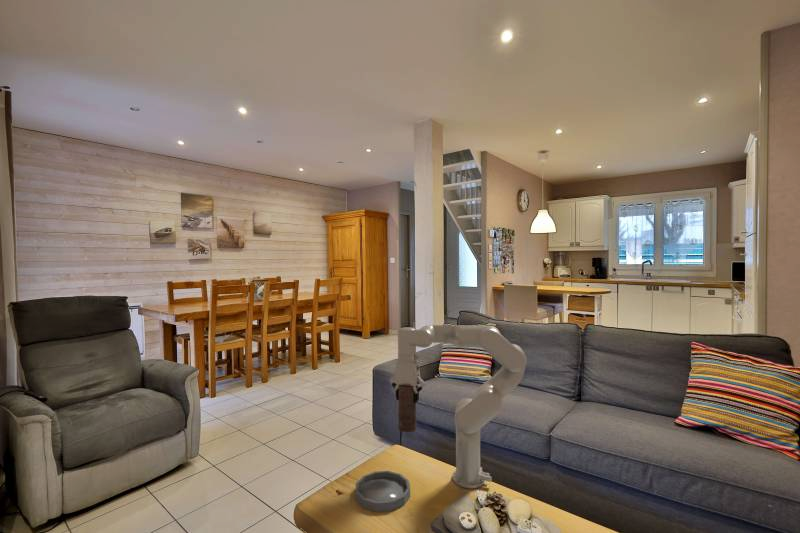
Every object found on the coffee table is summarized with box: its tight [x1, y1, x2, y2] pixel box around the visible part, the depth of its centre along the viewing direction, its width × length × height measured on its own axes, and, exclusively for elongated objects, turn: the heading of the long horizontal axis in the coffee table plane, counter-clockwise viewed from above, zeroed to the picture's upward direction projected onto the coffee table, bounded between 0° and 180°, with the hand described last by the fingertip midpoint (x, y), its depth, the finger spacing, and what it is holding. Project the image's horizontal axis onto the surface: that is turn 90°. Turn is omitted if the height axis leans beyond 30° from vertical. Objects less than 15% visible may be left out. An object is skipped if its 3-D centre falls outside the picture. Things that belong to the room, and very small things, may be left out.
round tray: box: [355, 470, 411, 513], centre depth 135 cm, size 20×20×3 cm
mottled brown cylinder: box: [398, 385, 417, 433], centre depth 150 cm, size 8×7×20 cm
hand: (407, 400), depth 150 cm, fingers closed on mottled brown cylinder, 7 cm apart
